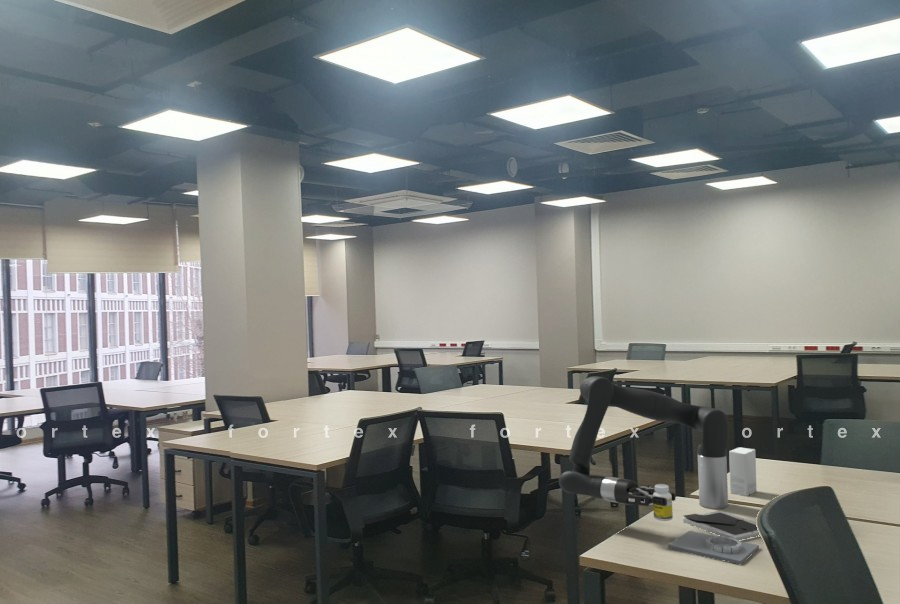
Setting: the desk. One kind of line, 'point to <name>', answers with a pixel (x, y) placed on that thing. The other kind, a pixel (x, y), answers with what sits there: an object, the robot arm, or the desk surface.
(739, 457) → the skincare box
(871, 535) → the desk surface
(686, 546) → the grey flat rectangular slab
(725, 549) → the steel ring collar
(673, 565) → the desk surface
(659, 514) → the supplement bottle
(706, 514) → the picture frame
